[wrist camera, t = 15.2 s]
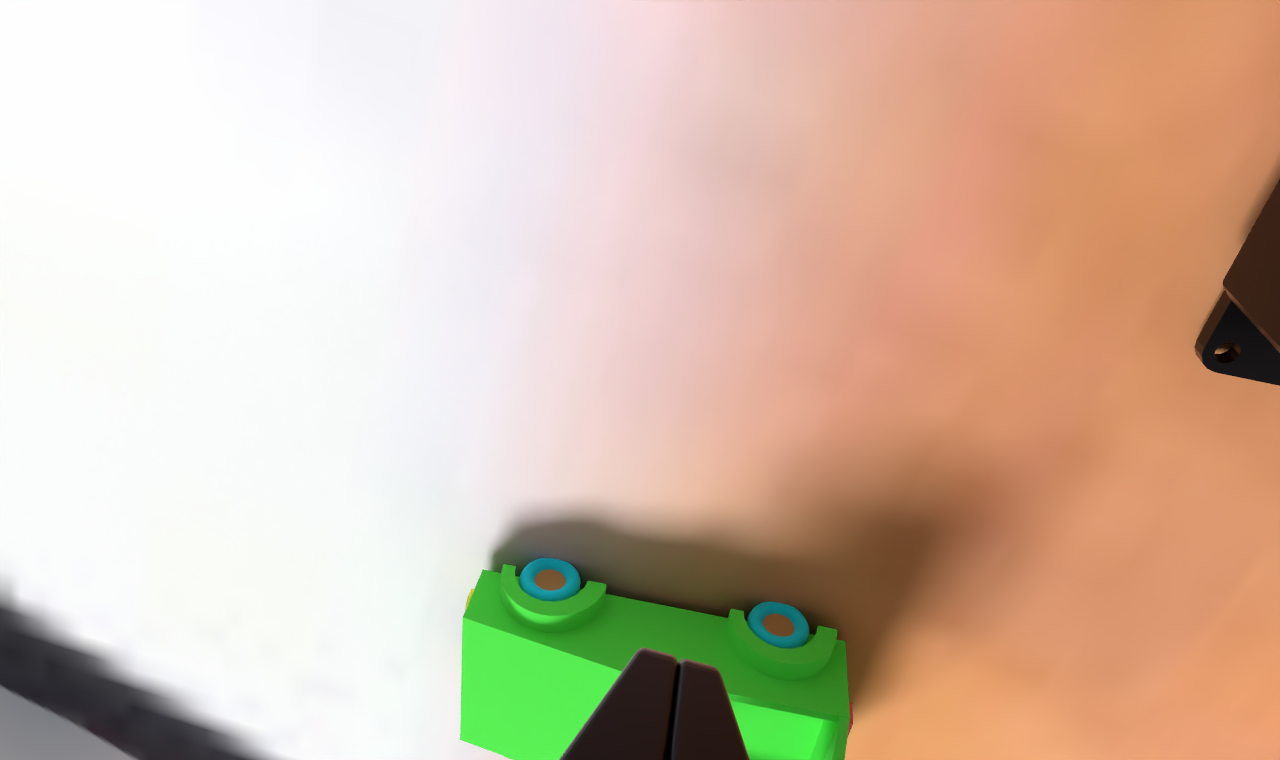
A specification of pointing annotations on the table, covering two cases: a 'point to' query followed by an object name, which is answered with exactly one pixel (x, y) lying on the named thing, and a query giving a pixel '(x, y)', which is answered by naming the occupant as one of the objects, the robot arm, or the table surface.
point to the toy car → (607, 640)
